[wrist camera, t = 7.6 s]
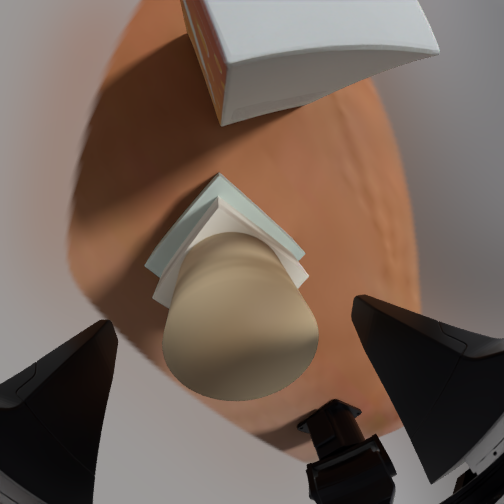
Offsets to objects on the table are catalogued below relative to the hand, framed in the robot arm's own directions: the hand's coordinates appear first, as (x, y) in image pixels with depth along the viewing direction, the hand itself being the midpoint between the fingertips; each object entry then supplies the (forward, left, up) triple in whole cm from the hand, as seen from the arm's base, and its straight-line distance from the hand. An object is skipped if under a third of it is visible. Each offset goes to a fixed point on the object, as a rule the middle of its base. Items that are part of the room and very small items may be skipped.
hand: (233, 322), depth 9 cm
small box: (+7, -10, -11) cm, 16 cm away
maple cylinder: (0, 0, -4) cm, 4 cm away
